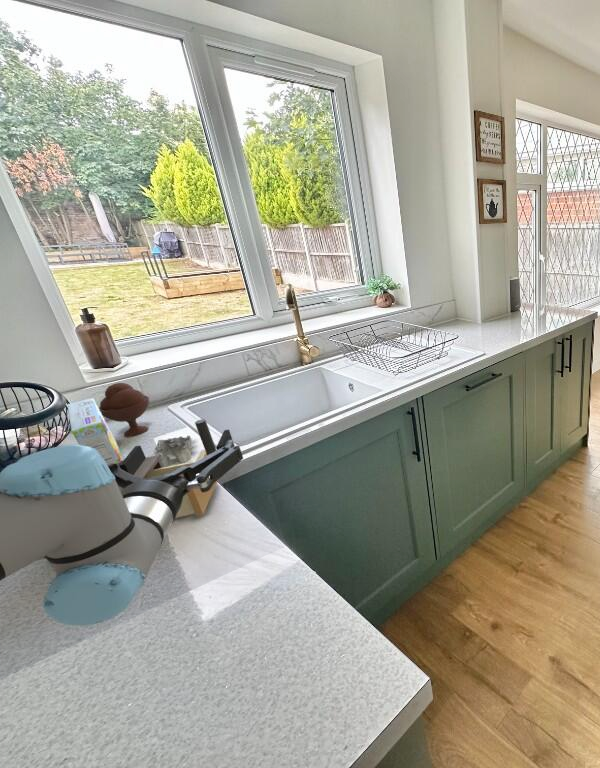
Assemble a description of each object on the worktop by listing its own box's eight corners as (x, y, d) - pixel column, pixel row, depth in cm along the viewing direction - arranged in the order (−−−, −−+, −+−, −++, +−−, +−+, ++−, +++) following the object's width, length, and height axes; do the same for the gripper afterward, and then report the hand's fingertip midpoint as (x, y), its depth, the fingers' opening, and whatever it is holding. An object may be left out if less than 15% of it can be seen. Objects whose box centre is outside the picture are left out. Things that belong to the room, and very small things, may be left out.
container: (236, 474, 97) (213, 407, 90) (224, 509, 86) (196, 435, 79) (132, 496, 91) (98, 425, 84) (103, 538, 79) (61, 460, 72)
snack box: (91, 454, 110) (65, 403, 104) (118, 446, 114) (95, 396, 108) (98, 487, 96) (69, 430, 90) (130, 476, 100) (104, 421, 94)
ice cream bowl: (101, 440, 117) (77, 392, 111) (139, 421, 127) (120, 376, 121) (132, 443, 115) (110, 394, 109) (169, 423, 125) (150, 378, 119)
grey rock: (191, 462, 105) (185, 448, 104) (154, 471, 102) (148, 457, 100) (196, 443, 114) (191, 430, 112) (162, 451, 110) (156, 437, 109)
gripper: (36, 565, 55) (109, 477, 73) (249, 513, 64) (267, 446, 82) (8, 520, 52) (91, 441, 70) (235, 472, 61) (257, 412, 79)
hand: (186, 443), depth 76 cm, fingers open, 13 cm apart
